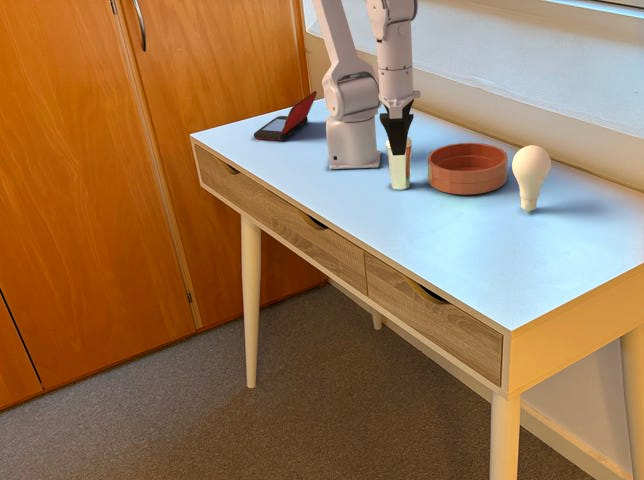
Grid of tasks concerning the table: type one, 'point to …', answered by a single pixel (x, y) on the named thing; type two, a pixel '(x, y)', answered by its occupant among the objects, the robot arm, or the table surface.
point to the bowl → (467, 168)
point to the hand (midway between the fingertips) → (399, 146)
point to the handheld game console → (287, 121)
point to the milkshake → (400, 166)
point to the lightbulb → (530, 173)
